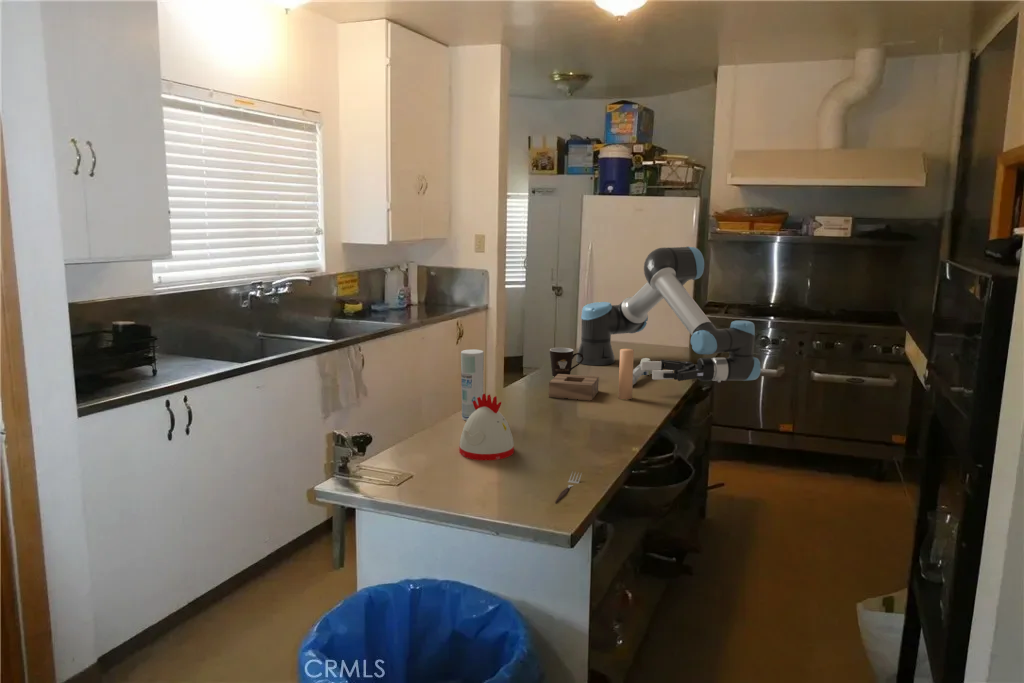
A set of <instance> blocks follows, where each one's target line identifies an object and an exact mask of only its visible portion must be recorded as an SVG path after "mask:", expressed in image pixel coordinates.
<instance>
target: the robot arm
mask: <svg viewBox="0 0 1024 683" xmlns="http://www.w3.org/2000/svg"><path fill="white" fill-rule="evenodd" d="M704 269H705V259H704V256H703V253H702V252H701V251H700V249H699V248H697V247H694V246H683V247H682V246H681V247H678V246H677V247H675V246H674V247H659V248H656V249H654V250H652V251H651V252H649V254H648V255H647V257H646V258H645V261H644V263H643V274H644V278H645V279H646V283H645V284H643V285H642V287H640V289H639V290H637V292H636V293H635V294H634V295H633V296H629V297H626V298H624V299H623V301H621V302H620V303H619V304H615V305H612V303H611V302H609V301H608V302H607V301H600V302H598V301H596V302H591V303H587V304H586V305H584V306H583V307H582V309H581V316H580V318H581V329H580V330H581V333H580V338H581V339H580V340H581V341H580V345H579V348H578V350H577V353H580V354H582V355H583V361H582V362H581V363H580V365H587V366H607V365H613V364H614V363H615V354H614V351H613V347H612V343H611V341H612V340H611V339H612V336H611V335H621V334H622V335H624V334H636V333H639V332H642V331H643V330H644V329H645V328H646V326H647V324H648V323H647V322H648V318H649V315H648V313H650V311H651V310H652V309H654V307H656V306H657V305H658V304H659V302H661V301H662V300H663V299H664V301H665V302H666V303H667V305H668V306H669V307H670V309H671V310H672V311H673V312H674V314H675V316H676V317H677V318H678V319H679V321H680V322H681V323H682V325H683V326H684V327H685V329H686V330H687V332H689V334H690V335H691V337H690V345H691V348H692V350H693V351H694V353H695V354H697V355H712V354H721V353H728V355H729V356H728V357H712V358H711V357H700V358H698V359H697V362H696V364H694V362H692V361H683V360H681V361H680V360H670V359H669V360H668V359H660V361H658V360H657V361H656V360H652V361H651V360H650V361H643V362H642V366H641V370H652V375H651V379H652V380H675V381H676V380H677V381H678V382H681V381H683V382H684V381H687V380H694V379H697V380H698V381H700V382H710V381H713V382H714V381H715V382H717V383H721V381H724V382H727V381H737V382H738V381H740V382H741V381H743V382H745V381H746V382H747V381H754V380H757V379H758V378H759V377H760V375H761V372H762V369H761V362H760V359H759V358H758V357H755V356H754V349H755V347H754V346H755V337H756V335H755V334H756V333H755V332H756V329H755V323H754V322H752V321H751V320H750V321H749V320H734V321H731V323H730V326H729V328H716V326H715V325H714V323H713V322H712V321H711V320H710V318H709V317H708V316H707V315H706V314H705V313H704V311H703V310H702V308H701V307H700V306H699V304H698V303H697V302H696V301H695V300H694V298H693V297H692V296H691V294H690V292H688V291H687V289H686V288H685V287H684V285H685V284H686V283H687V282H689V281H691V280H693V281H695V280H698V279H700V278H701V277H702V275H703V274H704ZM581 360H582V356H581V355H576V360H575V361H576V362H577V364H578V363H579V362H580V361H581Z"/></svg>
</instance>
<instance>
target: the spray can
mask: <svg viewBox="0 0 1024 683" xmlns="http://www.w3.org/2000/svg"><path fill="white" fill-rule="evenodd" d="M484 356H485V355H484V350H481V349H465V350H461V351H460V367H461V368H460V369H461V370H460V371H461V384H460V385H461V419H462V421H465V422H466V421H467V420H468V418H469V417H470V415H471V414H472V413H473V412H474V411H475V407H474V405H473V401H476V403H477V405H478V400H477V398H478V397H480V398H481V400H482V395H483V394H484V361H485V360H484Z"/></svg>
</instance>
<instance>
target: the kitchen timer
mask: <svg viewBox="0 0 1024 683" xmlns="http://www.w3.org/2000/svg"><path fill="white" fill-rule="evenodd" d="M477 400H478V405H477V403H476V401H473V405H474V407H475V411H474V412H473V413H472V414H471V415H470V417H469V418H468V420H467V421H465V423H464V425H463V430H462V432H461V435H460V440H459V446H458V447H459V449H458V450H459V451H458V452H459V454H460V455H461V456H462V457H464V458H467V459H470V460H477V461H496V460H503V459H506V458H508V457H510V456H512V455H514V452H515V450H514V449H515V446H514V438H513V434H512V431H511V428H510V424H509V422H508V421H507V420H506V418H505V417H504V415H503V414H502V412H500V411H499V410H500V407H501V405H502V401H500V402H498V400H497V396H496V395H495V396H494V397H493V399H492V396H491V394H487V396H486V393H483V395H482V400H481V398H480V397H478V398H477Z"/></svg>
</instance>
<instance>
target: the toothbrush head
mask: <svg viewBox="0 0 1024 683" xmlns="http://www.w3.org/2000/svg"><path fill="white" fill-rule="evenodd" d="M643 361H651V359H650V358H648V357H645V358H644V357H643V358H641V360H640V363H639V364H638V365H637V366H636V367H635V368H633V384H634V385H636V384H637V382H638V380H639V379H640V378H641V376H642V375H649V376H651V375H650V374H652V371H653V370H641V366H642V362H643Z"/></svg>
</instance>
